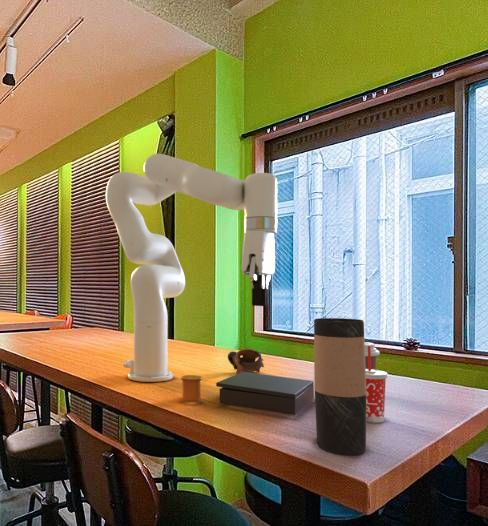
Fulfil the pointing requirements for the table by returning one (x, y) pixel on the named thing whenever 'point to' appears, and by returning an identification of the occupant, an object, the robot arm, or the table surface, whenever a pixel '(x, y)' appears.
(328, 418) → the travel mug
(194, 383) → the orange brown spool
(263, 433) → the table surface
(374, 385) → the beverage cup
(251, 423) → the table surface
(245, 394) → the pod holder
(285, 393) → the lid
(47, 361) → the table surface
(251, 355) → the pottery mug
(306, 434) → the table surface
